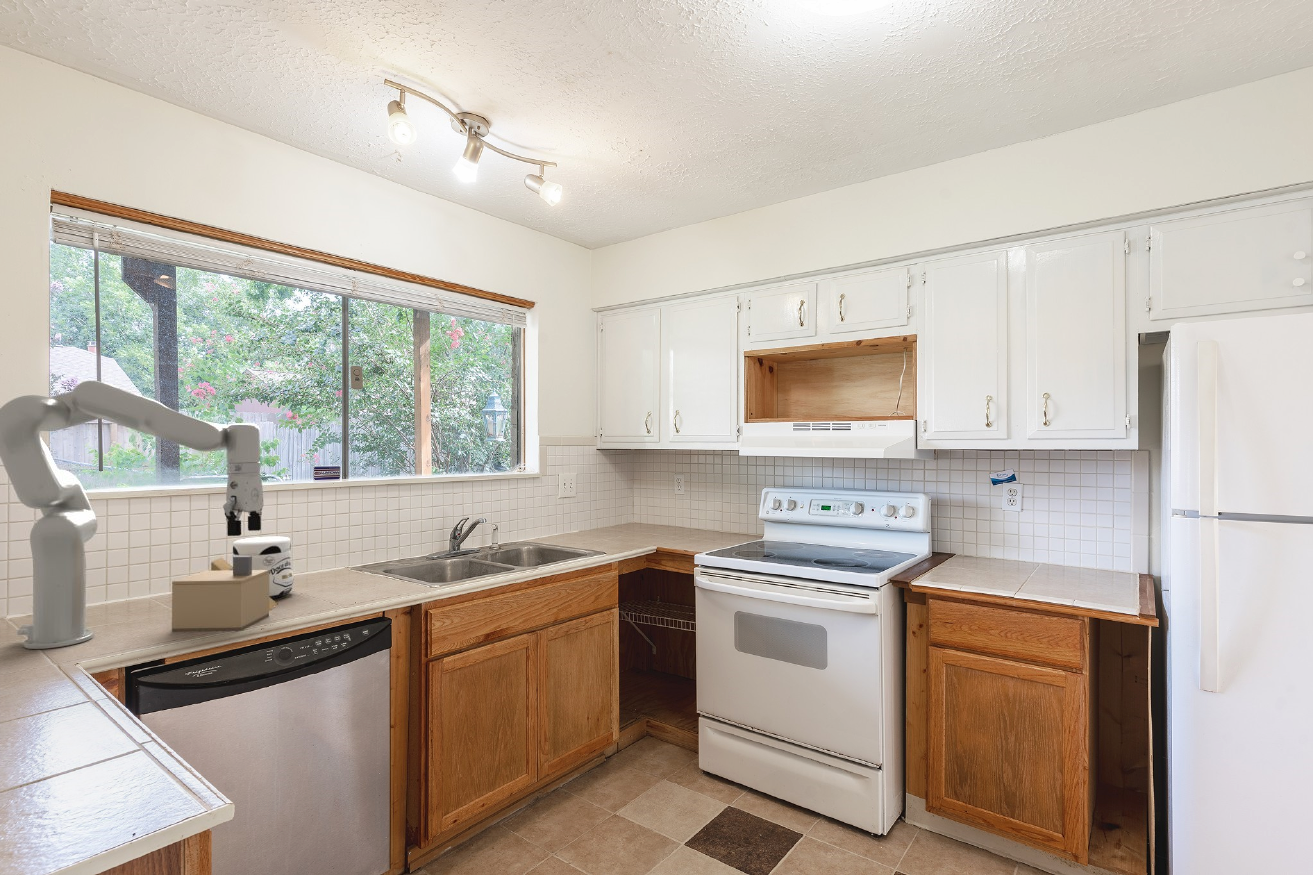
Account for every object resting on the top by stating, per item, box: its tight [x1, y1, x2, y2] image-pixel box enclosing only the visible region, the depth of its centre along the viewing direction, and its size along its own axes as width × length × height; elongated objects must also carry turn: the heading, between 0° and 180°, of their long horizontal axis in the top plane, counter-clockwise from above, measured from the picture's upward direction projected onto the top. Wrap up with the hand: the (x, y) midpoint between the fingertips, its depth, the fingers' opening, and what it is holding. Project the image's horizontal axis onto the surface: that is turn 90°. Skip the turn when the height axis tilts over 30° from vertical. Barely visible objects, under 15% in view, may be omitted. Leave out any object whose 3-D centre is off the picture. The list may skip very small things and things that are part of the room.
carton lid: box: [171, 556, 269, 585], centre depth 175 cm, size 17×14×6 cm
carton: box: [171, 573, 270, 633], centre depth 175 cm, size 17×14×12 cm
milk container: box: [232, 536, 295, 600], centre depth 205 cm, size 17×17×18 cm
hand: (244, 533), depth 176 cm, fingers open, 9 cm apart
